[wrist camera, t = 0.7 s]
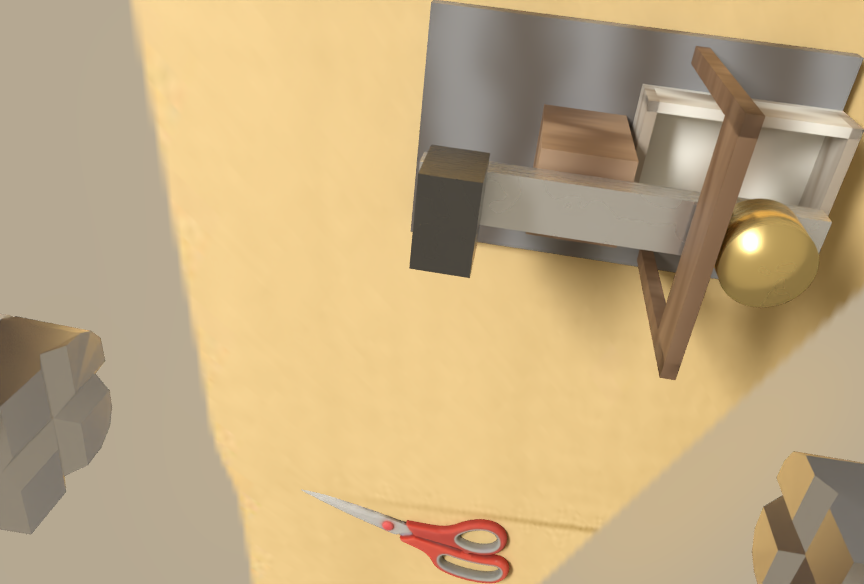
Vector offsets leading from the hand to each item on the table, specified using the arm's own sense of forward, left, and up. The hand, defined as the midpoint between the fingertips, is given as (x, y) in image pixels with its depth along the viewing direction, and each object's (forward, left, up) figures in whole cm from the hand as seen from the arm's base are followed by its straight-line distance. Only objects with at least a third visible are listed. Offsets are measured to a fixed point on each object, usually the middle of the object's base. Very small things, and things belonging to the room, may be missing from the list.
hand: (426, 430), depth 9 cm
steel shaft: (+9, +6, -30) cm, 32 cm away
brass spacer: (+9, +13, -28) cm, 33 cm away
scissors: (+48, -4, -40) cm, 63 cm away
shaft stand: (+9, +7, -39) cm, 41 cm away
